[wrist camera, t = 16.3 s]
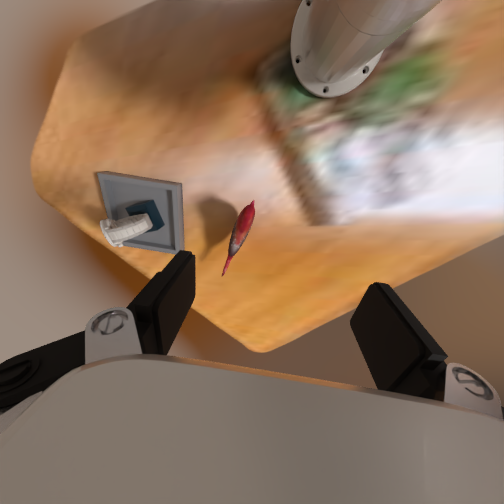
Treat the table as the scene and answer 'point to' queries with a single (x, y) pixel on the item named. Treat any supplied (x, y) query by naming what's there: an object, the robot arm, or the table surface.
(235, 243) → the decorative bird figurine
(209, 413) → the robot arm
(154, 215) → the watch
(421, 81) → the table surface
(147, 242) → the tray
